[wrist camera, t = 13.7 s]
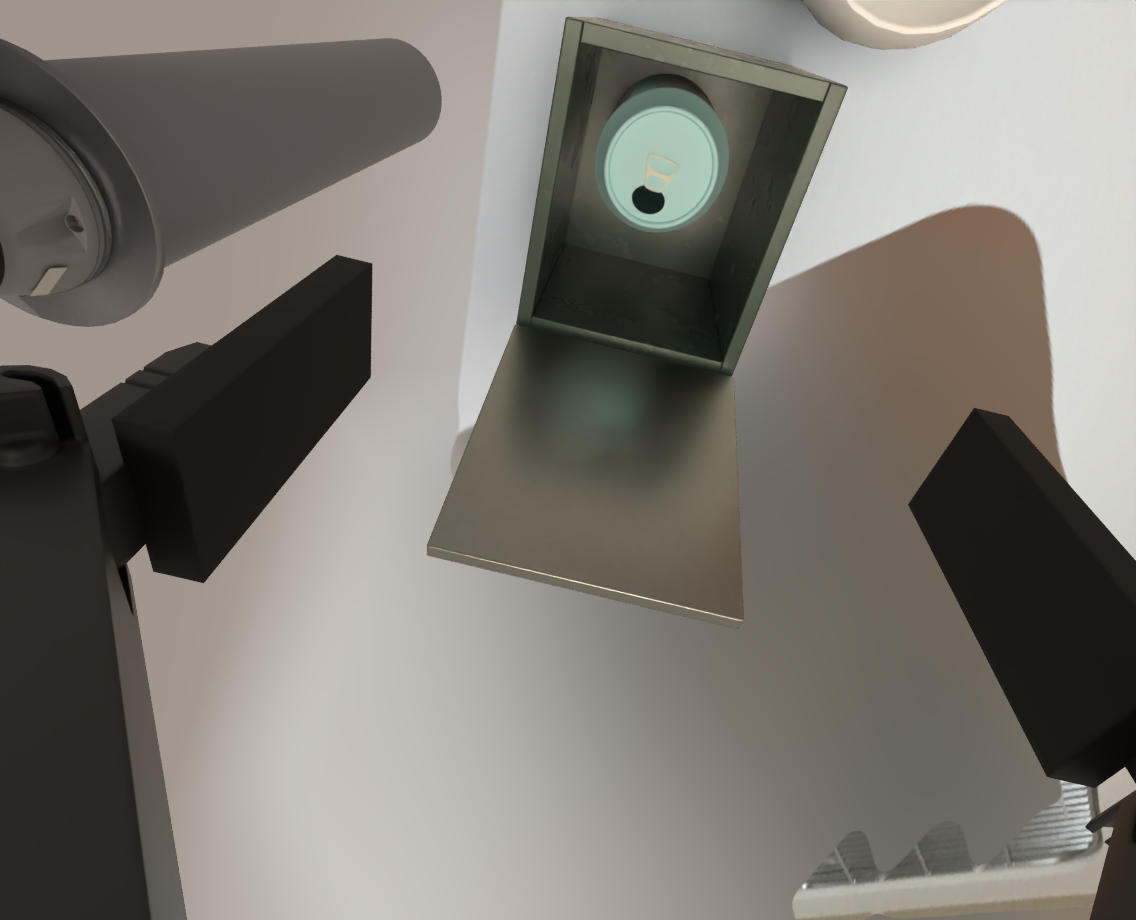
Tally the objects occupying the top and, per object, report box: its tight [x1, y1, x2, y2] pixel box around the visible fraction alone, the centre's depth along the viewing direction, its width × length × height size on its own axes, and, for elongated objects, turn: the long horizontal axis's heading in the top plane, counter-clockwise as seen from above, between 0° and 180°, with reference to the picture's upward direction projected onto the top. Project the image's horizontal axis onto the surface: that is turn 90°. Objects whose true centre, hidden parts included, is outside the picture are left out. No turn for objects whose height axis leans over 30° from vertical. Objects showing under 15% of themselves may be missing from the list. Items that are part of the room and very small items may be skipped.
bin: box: [516, 17, 848, 377], centre depth 37 cm, size 15×13×15 cm
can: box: [595, 74, 729, 233], centre depth 37 cm, size 7×7×12 cm
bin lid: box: [427, 325, 744, 629], centre depth 30 cm, size 16×13×1 cm
